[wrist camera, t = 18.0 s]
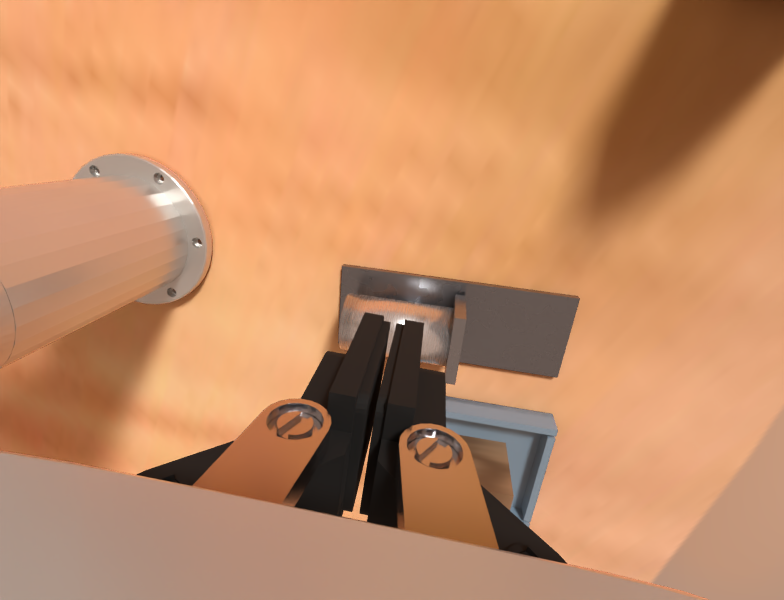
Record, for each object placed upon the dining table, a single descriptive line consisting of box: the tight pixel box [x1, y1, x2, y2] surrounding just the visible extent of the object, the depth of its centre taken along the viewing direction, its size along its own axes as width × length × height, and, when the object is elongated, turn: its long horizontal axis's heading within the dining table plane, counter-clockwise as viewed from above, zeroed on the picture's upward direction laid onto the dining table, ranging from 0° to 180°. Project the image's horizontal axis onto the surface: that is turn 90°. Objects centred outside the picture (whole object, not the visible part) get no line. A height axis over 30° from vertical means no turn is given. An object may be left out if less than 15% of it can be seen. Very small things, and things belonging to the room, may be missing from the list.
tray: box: [446, 396, 558, 527], centre depth 38 cm, size 11×11×2 cm
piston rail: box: [338, 264, 580, 377], centre depth 34 cm, size 18×7×1 cm, turn 84°
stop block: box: [460, 435, 514, 510], centre depth 35 cm, size 4×4×6 cm
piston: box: [339, 293, 466, 385], centre depth 32 cm, size 9×5×5 cm, turn 84°
